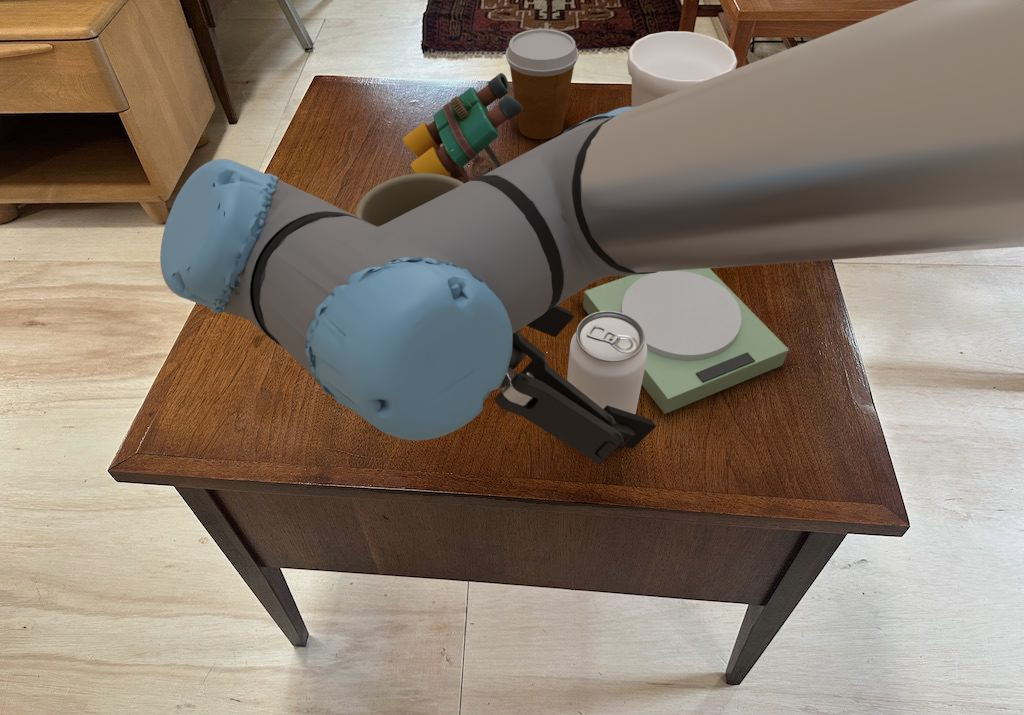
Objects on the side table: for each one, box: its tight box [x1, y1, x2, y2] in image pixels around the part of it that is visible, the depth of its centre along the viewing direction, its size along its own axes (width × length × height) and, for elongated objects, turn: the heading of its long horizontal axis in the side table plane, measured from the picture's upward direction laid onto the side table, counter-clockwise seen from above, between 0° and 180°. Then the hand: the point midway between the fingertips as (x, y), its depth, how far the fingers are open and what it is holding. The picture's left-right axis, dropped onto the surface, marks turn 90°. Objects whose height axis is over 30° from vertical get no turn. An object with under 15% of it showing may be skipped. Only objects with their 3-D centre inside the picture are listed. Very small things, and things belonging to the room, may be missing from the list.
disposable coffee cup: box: [505, 28, 580, 140], centre depth 96 cm, size 10×10×12 cm
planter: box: [354, 173, 464, 227], centre depth 75 cm, size 12×12×11 cm
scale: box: [582, 268, 790, 415], centre depth 73 cm, size 16×14×3 cm
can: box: [566, 311, 647, 415], centre depth 62 cm, size 6×6×12 cm
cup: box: [626, 30, 738, 107], centre depth 87 cm, size 12×12×15 cm
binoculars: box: [402, 72, 523, 184], centre depth 85 cm, size 14×14×15 cm
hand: (600, 375), depth 61 cm, fingers open, 13 cm apart
